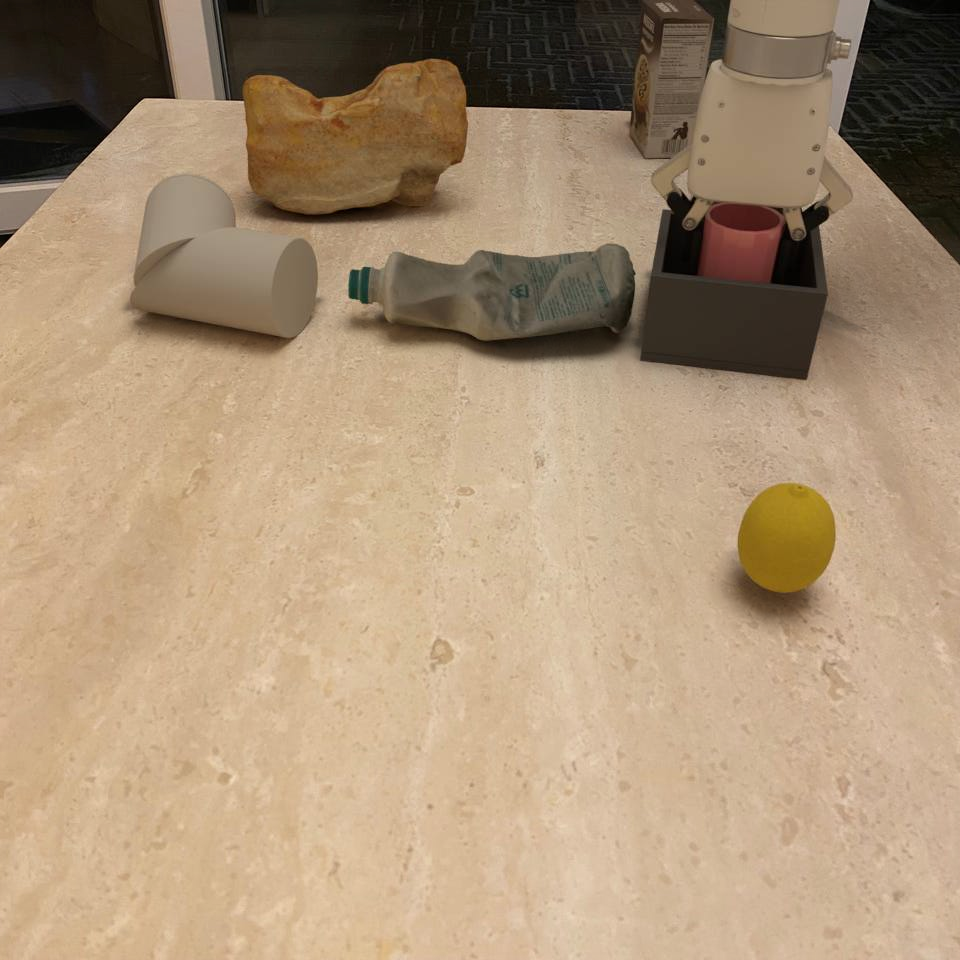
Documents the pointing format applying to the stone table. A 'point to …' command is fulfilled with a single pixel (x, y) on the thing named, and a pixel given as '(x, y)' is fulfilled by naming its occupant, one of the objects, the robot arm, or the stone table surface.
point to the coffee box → (669, 75)
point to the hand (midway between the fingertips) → (734, 271)
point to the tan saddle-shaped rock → (355, 139)
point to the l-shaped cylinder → (219, 263)
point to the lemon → (786, 537)
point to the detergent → (504, 292)
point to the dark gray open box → (733, 312)
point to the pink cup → (740, 242)
